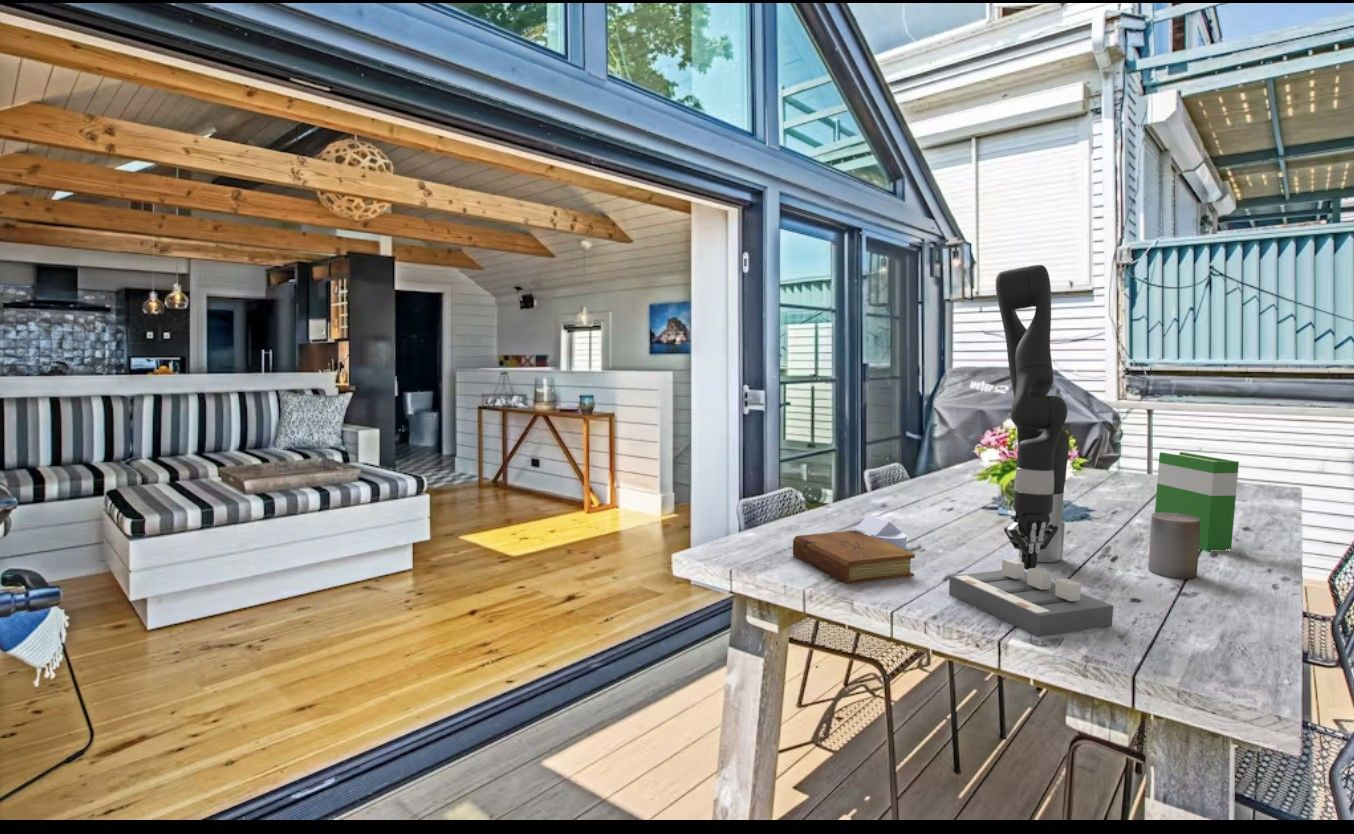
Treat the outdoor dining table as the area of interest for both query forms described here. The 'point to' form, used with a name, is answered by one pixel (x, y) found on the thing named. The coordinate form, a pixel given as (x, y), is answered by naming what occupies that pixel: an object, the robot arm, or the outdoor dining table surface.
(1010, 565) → the switch tab
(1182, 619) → the outdoor dining table surface
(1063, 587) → the switch tab
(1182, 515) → the pillar candle
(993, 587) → the panel
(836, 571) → the diary
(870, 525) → the wedge on round base
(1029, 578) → the switch tab
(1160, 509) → the hardback book
